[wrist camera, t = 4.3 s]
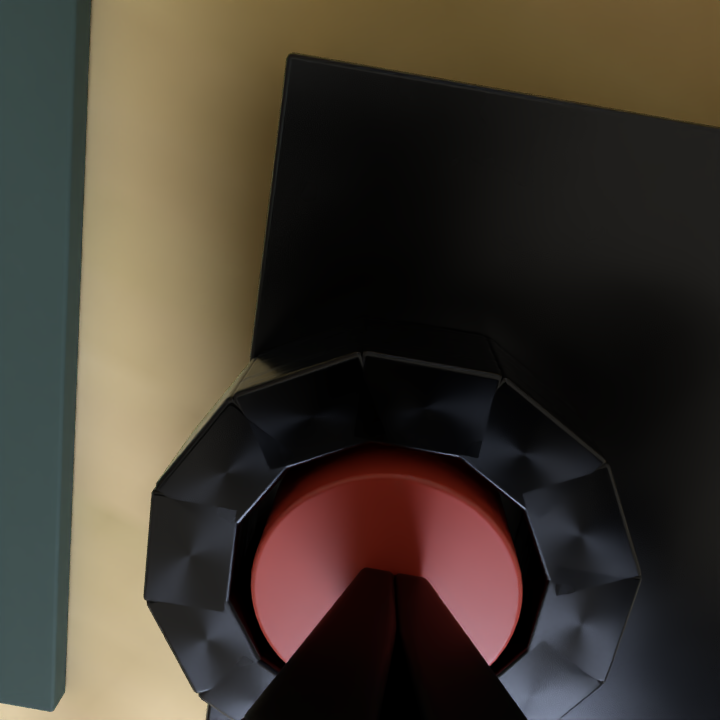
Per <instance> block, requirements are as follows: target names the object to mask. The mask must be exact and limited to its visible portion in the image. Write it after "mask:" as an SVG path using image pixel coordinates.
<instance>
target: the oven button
mask: <svg viewBox="0 0 720 720" xmlns="http://www.w3.org/2000/svg"><path fill="white" fill-rule="evenodd" d="M365 567H368V568H374V569H379V570H385V571H390V572H391V573H392V574H393V575H394V577H395V575H396V574H398V573H402V574H408V575H414V576H419V577H424V578H426V579H427V580H428V581H429V583H430V584H431V586H432V587H433V588H434V590H435V591H436V592H437V594H438V595H439V597H440V598H441V599H442V601H443V602H444V604H445V605H446V606H447V608H448V609H449V611H450V612H451V613H452V615H453V616H454V618H455V619H456V620H457V622H458V623H459V624H460V626H461V627H462V629H463V630H464V631H465V633H466V634H467V636H468V637H469V638H470V640H471V641H472V643H473V644H474V645H475V647H476V648H477V650H478V651H479V652H480V654H481V655H482V656H483V658H484V659H485V661H486V662H487V663H488V665H489V666H491V665H492V664H493V663H494V662H495V661H496V659H497V658H498V657H499V655H500V654H501V653H502V652H503V650H504V649H505V648H506V646H507V644H508V642H509V640H510V639H511V637H512V635H513V633H514V630H515V627H516V625H517V622H518V619H519V616H520V611H521V606H522V597H523V584H522V574H521V569H520V566H519V562H518V558H517V555H516V551H515V547H514V544H513V540H512V537H511V533H510V530H509V526H508V523H507V519H506V515H505V512H504V508H503V505H502V501H501V498H500V495H499V492H498V490H497V489H496V488H494V487H493V486H492V485H491V484H489V483H488V482H487V481H486V480H484V479H483V478H482V477H481V476H479V475H478V474H477V473H476V472H474V471H473V470H472V469H470V468H469V467H468V466H467V465H465V464H464V463H463V462H462V461H460V460H459V459H458V458H454V457H449V456H443V455H437V454H432V453H426V452H420V451H415V450H409V449H403V448H398V447H392V446H386V445H381V444H375V443H368V444H365V445H362V446H358V447H355V448H352V449H349V450H346V451H343V452H340V453H336V454H333V455H330V456H327V457H324V458H321V459H318V460H314V461H311V462H308V463H305V464H302V465H299V466H296V467H292V468H290V469H289V471H288V472H287V473H286V474H285V476H284V478H283V479H282V481H281V483H280V485H279V488H278V491H277V493H276V496H275V499H274V502H273V504H272V507H271V510H270V513H269V516H268V519H267V522H266V525H265V527H264V530H263V533H262V536H261V539H260V542H259V545H258V548H257V550H256V553H255V556H254V561H253V566H252V570H251V596H252V603H253V607H254V611H255V615H256V618H257V620H258V623H259V625H260V628H261V630H262V632H263V634H264V636H265V637H266V639H267V641H268V642H269V644H270V646H271V647H272V648H273V649H274V651H275V652H276V653H277V655H278V656H279V657H280V658H281V659H282V660H283V661H284V662H285V663H287V662H288V660H289V659H290V658H291V657H292V655H293V654H294V653H295V652H296V650H297V649H298V648H299V647H300V645H301V644H302V643H303V642H304V640H305V639H306V638H307V637H308V635H309V634H310V633H311V632H312V630H313V629H314V628H315V627H316V625H317V624H318V623H319V622H320V621H321V619H322V618H323V617H324V616H325V614H326V613H327V612H328V611H329V609H330V608H331V607H332V606H333V604H334V603H335V602H336V601H337V599H338V598H339V597H340V596H341V594H342V593H343V592H344V591H345V589H346V588H347V587H348V586H349V584H350V583H351V582H352V581H353V579H354V578H355V577H356V576H357V574H358V573H359V572H360V571H361V570H362V569H363V568H365Z"/></svg>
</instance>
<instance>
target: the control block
mask: <svg viewBox="0 0 720 720" xmlns="http://www.w3.org/2000/svg"><path fill="white" fill-rule="evenodd" d="M368 443H375V444H381V445H386V446H392V447H398V448H403V449H409V450H415V451H420V452H426V453H432V454H437V455H443V456H449V457H454V458H458V459H459V460H460V461H462V462H463V463H464V464H465V465H467V466H468V467H469V468H470V469H472V470H473V471H474V472H476V473H477V474H478V475H479V476H481V477H482V478H483V479H484V480H486V481H487V482H488V483H489V484H491V485H492V486H493V487H494V488H496V489H497V490H498V492H499V495H500V498H501V501H502V505H503V508H504V512H505V515H506V519H507V523H508V526H509V530H510V533H511V537H512V540H513V544H514V547H515V551H516V555H517V558H518V562H519V566H520V569H521V574H522V584H523V597H522V606H521V611H520V616H519V619H518V622H517V625H516V627H515V630H514V633H513V635H512V637H511V639H510V640H509V642H508V644H507V646H506V648H505V649H504V650H503V652H502V653H501V654H500V655H499V657H498V658H497V659H496V661H495V662H494V663H493V664H492V665H491V666H490V668H491V669H492V670H493V672H494V673H495V675H496V676H497V677H498V679H499V680H500V682H501V683H502V684H503V686H504V687H505V688H506V690H507V691H508V693H509V694H510V695H511V697H512V698H513V700H514V701H515V702H516V704H517V705H518V707H519V708H520V709H521V711H522V712H523V714H524V715H525V716H526V718H527V719H528V720H720V127H715V126H709V125H704V124H698V123H692V122H687V121H681V120H675V119H669V118H664V117H658V116H652V115H647V114H641V113H635V112H630V111H624V110H618V109H613V108H607V107H601V106H595V105H590V104H584V103H578V102H573V101H567V100H561V99H556V98H550V97H544V96H539V95H533V94H527V93H522V92H516V91H510V90H504V89H499V88H493V87H487V86H482V85H476V84H470V83H465V82H459V81H453V80H448V79H442V78H436V77H430V76H425V75H419V74H413V73H408V72H402V71H396V70H391V69H385V68H379V67H374V66H368V65H362V64H357V63H351V62H345V61H339V60H334V59H328V58H322V57H317V56H311V55H305V54H300V53H290V54H288V56H287V58H286V65H285V73H284V81H283V89H282V97H281V106H280V114H279V122H278V130H277V138H276V147H275V155H274V163H273V171H272V179H271V188H270V196H269V204H268V212H267V220H266V229H265V237H264V245H263V253H262V262H261V270H260V278H259V286H258V294H257V303H256V311H255V319H254V327H253V335H252V344H251V352H250V360H249V364H248V365H247V366H246V367H245V369H244V370H243V371H242V372H241V373H240V375H239V376H238V377H237V378H236V380H235V381H234V382H233V383H232V384H231V386H230V387H229V388H228V389H227V391H226V392H225V393H224V394H223V395H222V397H221V398H220V399H219V400H218V402H217V403H216V404H215V405H214V406H213V408H212V409H211V410H210V411H209V413H208V414H207V415H206V416H205V417H204V419H203V420H202V421H201V422H200V424H199V425H198V426H197V427H196V428H195V430H194V431H193V432H192V433H191V435H190V436H189V438H188V439H187V441H186V442H185V443H184V445H183V446H182V448H181V449H180V450H179V452H178V453H177V455H176V456H175V458H174V459H173V460H172V462H171V463H170V465H169V466H168V467H167V469H166V470H165V472H164V473H163V475H162V476H161V477H160V479H159V480H158V482H157V483H156V487H155V488H154V490H153V491H152V495H151V508H150V521H149V533H148V546H147V558H146V571H145V584H144V599H145V600H147V606H148V608H149V609H150V611H151V613H152V615H153V617H154V619H155V620H156V622H157V624H158V626H159V628H160V630H161V631H162V633H163V635H164V637H165V639H166V641H167V643H168V644H169V646H170V648H171V650H172V652H173V654H174V655H175V657H176V659H177V661H178V663H179V665H180V667H181V668H182V670H183V672H184V674H185V676H186V678H187V679H188V681H189V683H190V685H191V687H192V689H193V690H194V692H196V693H199V697H200V698H201V699H202V700H203V701H205V702H206V703H208V705H207V713H206V720H241V719H242V718H244V716H245V714H246V713H247V711H248V710H249V709H250V708H251V706H252V705H253V704H254V703H255V701H256V700H257V699H258V698H259V696H260V695H261V694H262V693H263V691H264V690H265V689H266V688H267V686H268V685H269V684H270V683H271V681H272V680H273V679H274V678H275V676H276V675H277V674H278V673H279V671H280V670H281V669H282V668H283V667H284V665H285V664H286V663H285V662H284V661H283V660H282V659H281V658H280V657H279V656H278V655H277V653H276V652H275V651H274V649H273V648H272V647H271V646H270V644H269V642H268V641H267V639H266V637H265V636H264V634H263V632H262V630H261V628H260V625H259V623H258V620H257V618H256V615H255V611H254V607H253V603H252V596H251V570H252V566H253V561H254V556H255V553H256V550H257V548H258V545H259V542H260V539H261V536H262V533H263V530H264V527H265V525H266V522H267V519H268V516H269V513H270V510H271V507H272V504H273V502H274V499H275V496H276V493H277V491H278V488H279V485H280V483H281V481H282V479H283V478H284V476H285V474H286V473H287V472H288V471H289V469H290V468H292V467H296V466H299V465H302V464H305V463H308V462H311V461H314V460H318V459H321V458H324V457H327V456H330V455H333V454H336V453H340V452H343V451H346V450H349V449H352V448H355V447H358V446H362V445H365V444H368Z"/></svg>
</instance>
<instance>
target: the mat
mask: <svg viewBox="0 0 720 720" xmlns="http://www.w3.org/2000/svg"><path fill="white" fill-rule="evenodd" d="M90 15H91V0H0V703H4V704H10V705H15V706H21V707H27V708H32V709H38V710H44V711H49V712H51V711H54V709H55V708H56V706H57V704H58V703H59V701H60V699H61V698H62V696H63V694H64V693H65V676H66V649H67V623H68V596H69V570H70V544H71V517H72V491H73V464H74V438H75V411H76V385H77V359H78V332H79V306H80V279H81V253H82V227H83V200H84V174H85V147H86V121H87V95H88V68H89V42H90Z"/></svg>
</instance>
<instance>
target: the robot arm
mask: <svg viewBox="0 0 720 720" xmlns="http://www.w3.org/2000/svg"><path fill="white" fill-rule="evenodd" d="M241 720H528V719H527V718H526V716H525V715H524V714H523V712H522V711H521V709H520V708H519V707H518V705H517V704H516V702H515V701H514V700H513V698H512V697H511V695H510V694H509V693H508V691H507V690H506V688H505V687H504V686H503V684H502V683H501V682H500V680H499V679H498V677H497V676H496V675H495V673H494V672H493V670H492V669H491V668H490V666H489V665H488V663H487V662H486V661H485V659H484V658H483V656H482V655H481V654H480V652H479V651H478V650H477V648H476V647H475V645H474V644H473V643H472V641H471V640H470V638H469V637H468V636H467V634H466V633H465V631H464V630H463V629H462V627H461V626H460V624H459V623H458V622H457V620H456V619H455V618H454V616H453V615H452V613H451V612H450V611H449V609H448V608H447V606H446V605H445V604H444V602H443V601H442V599H441V598H440V597H439V595H438V594H437V592H436V591H435V590H434V588H433V587H432V586H431V584H430V583H429V581H428V580H427V579H426V578H424V577H419V576H414V575H408V574H402V573H398V574H396V575H395V577H394V575H393V574H392V573H391V572H390V571H385V570H379V569H374V568H368V567H365V568H363V569H362V570H361V571H360V572H359V573H358V574H357V576H356V577H355V578H354V579H353V581H352V582H351V583H350V584H349V586H348V587H347V588H346V589H345V591H344V592H343V593H342V594H341V596H340V597H339V598H338V599H337V601H336V602H335V603H334V604H333V606H332V607H331V608H330V609H329V611H328V612H327V613H326V614H325V616H324V617H323V618H322V619H321V621H320V622H319V623H318V624H317V625H316V627H315V628H314V629H313V630H312V632H311V633H310V634H309V635H308V637H307V638H306V639H305V640H304V642H303V643H302V644H301V645H300V647H299V648H298V649H297V650H296V652H295V653H294V654H293V655H292V657H291V658H290V659H289V660H288V662H287V663H286V664H285V665H284V667H283V668H282V669H281V670H280V671H279V673H278V674H277V675H276V676H275V678H274V679H273V680H272V681H271V683H270V684H269V685H268V686H267V688H266V689H265V690H264V691H263V693H262V694H261V695H260V696H259V698H258V699H257V700H256V701H255V703H254V704H253V705H252V706H251V708H250V709H249V710H248V711H247V713H246V714H245V716H244V718H242V719H241Z"/></svg>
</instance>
